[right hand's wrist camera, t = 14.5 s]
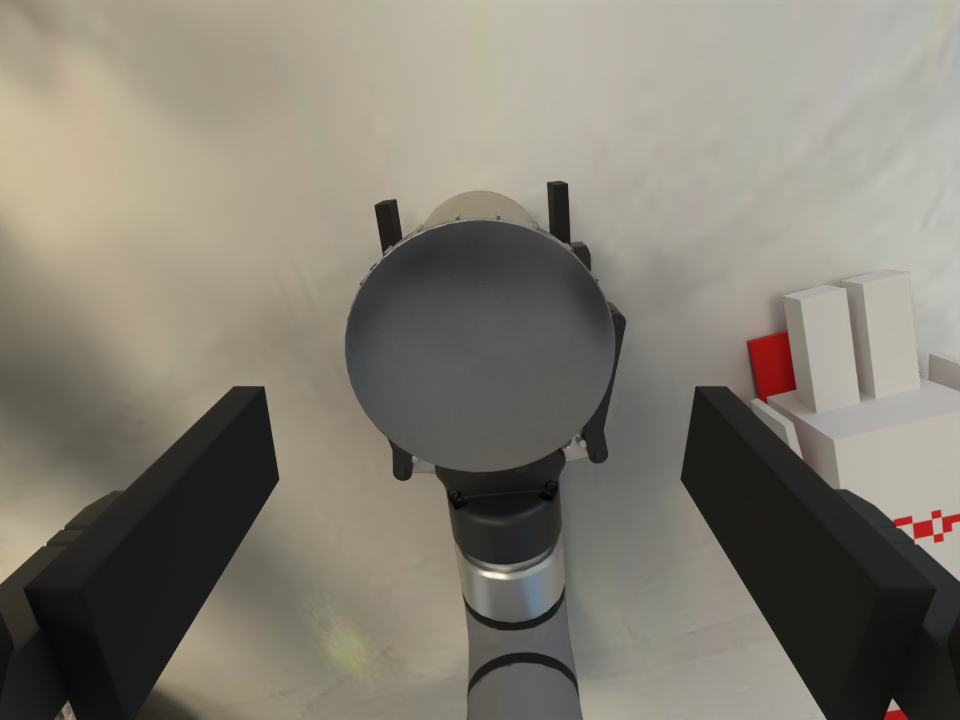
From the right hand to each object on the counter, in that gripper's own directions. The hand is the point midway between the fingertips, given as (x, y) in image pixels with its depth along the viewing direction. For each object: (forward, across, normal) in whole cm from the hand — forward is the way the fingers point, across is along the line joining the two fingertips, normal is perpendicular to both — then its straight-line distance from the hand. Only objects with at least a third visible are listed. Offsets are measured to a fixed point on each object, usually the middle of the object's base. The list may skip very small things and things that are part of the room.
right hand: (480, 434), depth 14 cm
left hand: (+18, 0, -5) cm, 19 cm away
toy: (+25, -26, +16) cm, 39 cm away
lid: (+6, 0, 0) cm, 6 cm away
